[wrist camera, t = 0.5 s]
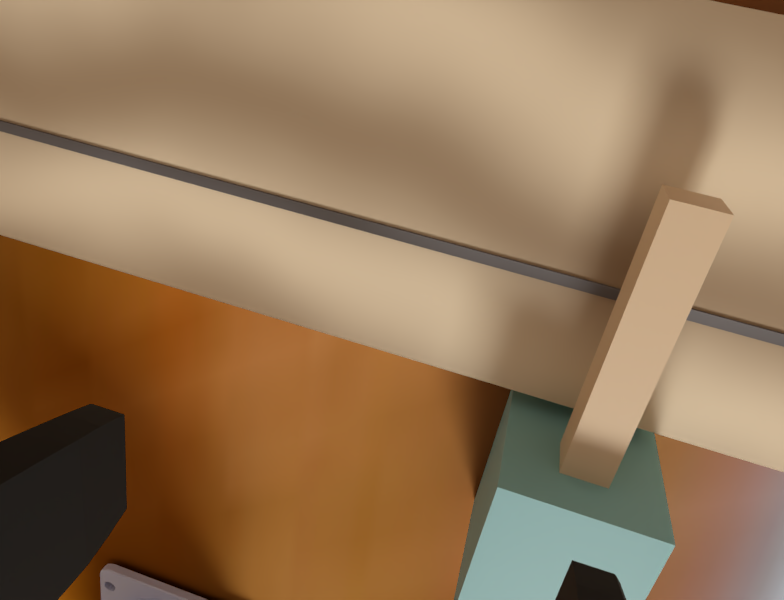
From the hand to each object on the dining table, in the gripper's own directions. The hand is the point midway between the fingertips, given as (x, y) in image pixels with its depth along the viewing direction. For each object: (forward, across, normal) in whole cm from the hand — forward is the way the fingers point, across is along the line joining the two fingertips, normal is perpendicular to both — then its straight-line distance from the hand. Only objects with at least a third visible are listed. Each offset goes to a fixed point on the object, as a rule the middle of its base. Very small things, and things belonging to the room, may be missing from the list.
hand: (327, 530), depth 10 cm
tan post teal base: (+10, -5, +1) cm, 11 cm away
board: (+10, +3, -4) cm, 11 cm away
